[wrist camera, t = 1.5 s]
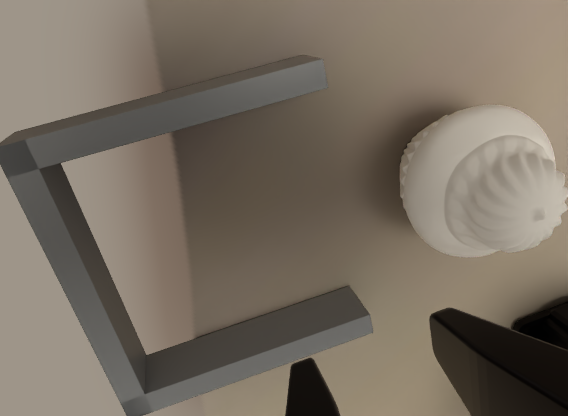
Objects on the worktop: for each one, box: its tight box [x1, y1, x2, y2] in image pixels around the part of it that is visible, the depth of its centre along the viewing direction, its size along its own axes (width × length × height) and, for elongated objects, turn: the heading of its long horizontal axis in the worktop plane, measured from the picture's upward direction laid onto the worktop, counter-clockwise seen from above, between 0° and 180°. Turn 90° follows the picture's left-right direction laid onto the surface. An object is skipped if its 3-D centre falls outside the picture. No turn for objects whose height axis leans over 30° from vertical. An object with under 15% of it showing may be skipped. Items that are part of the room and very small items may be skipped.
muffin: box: [400, 104, 568, 258], centre depth 18 cm, size 6×6×7 cm
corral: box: [0, 55, 373, 416], centre depth 19 cm, size 12×11×2 cm
